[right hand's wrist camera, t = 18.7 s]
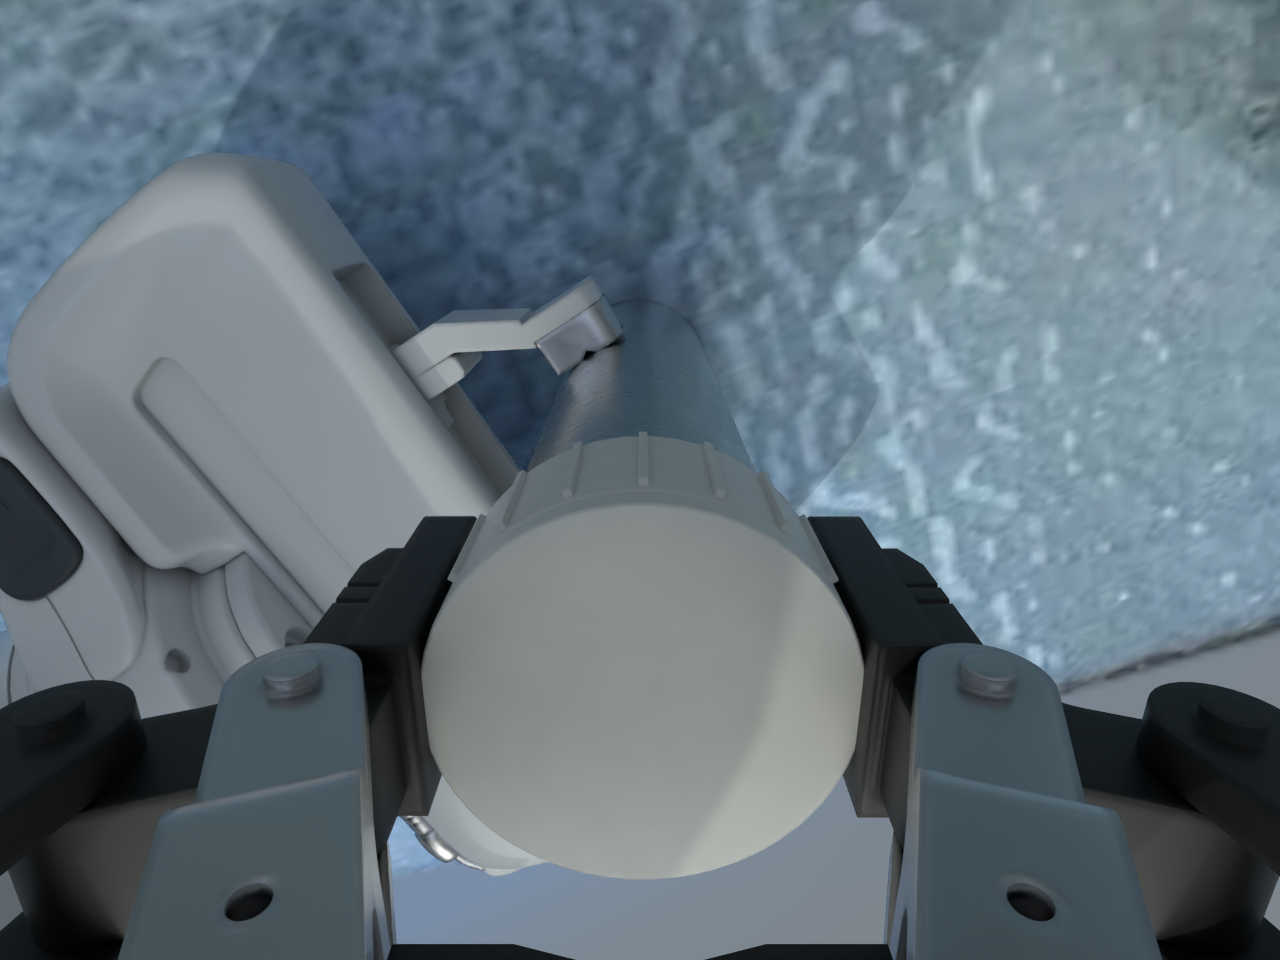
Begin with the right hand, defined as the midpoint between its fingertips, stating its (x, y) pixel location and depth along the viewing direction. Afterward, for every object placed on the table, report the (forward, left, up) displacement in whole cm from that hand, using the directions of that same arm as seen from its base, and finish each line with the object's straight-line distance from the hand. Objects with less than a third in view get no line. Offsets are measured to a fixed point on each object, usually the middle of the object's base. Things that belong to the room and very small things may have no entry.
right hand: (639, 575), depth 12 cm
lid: (0, 0, +3) cm, 3 cm away
